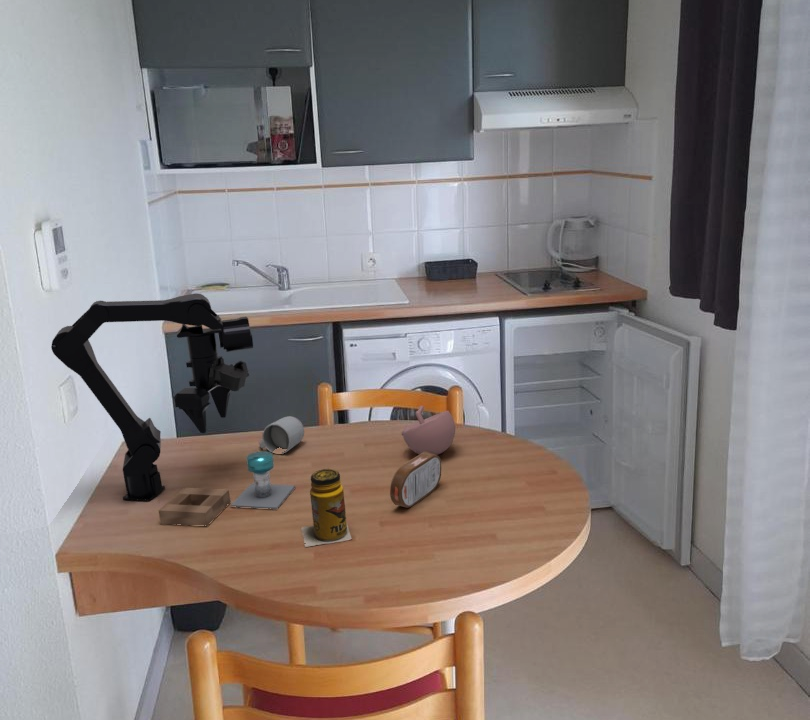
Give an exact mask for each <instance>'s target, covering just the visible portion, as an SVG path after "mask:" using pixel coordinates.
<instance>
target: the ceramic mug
mask: <svg viewBox="0 0 810 720" xmlns="http://www.w3.org/2000/svg"><path fill="white" fill-rule="evenodd" d="M304 436H305V428H304V424H303V423H302V422H301V420H300V419H299V418H297V417H295V416H290V415H288V416H284V417H282V418H280V419H278V420H275V421H273V422H272V423H269V424H268V425H266V426H265V427H264V429H263V432H262V436H261V437H262V440H260V441H259V442H258V445H259V447H260V449H264V448H266V449H267V450H268V452H273V451H274V450H275V449H277V448H279V447H280V448H282V449H287V450H286V451H284V452H282V455H284V453H285V454H286V453H287V452H289V451H290V450H291V449H293V448H294V447H295V446H297V445H298V444H300V442H301V441H302V440H303V438H304Z"/></svg>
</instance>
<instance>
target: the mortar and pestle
mask: <svg viewBox="0 0 810 720" xmlns="http://www.w3.org/2000/svg"><path fill="white" fill-rule="evenodd" d="M423 411H424V405H420V406H419V407H418V410H416V411H415V416H416V418H417V420H418V421H417V422H415V423H411V424H409V425H406V426H405V427H404V428H403V429H402V430H401V435H402V438H403V440H404V443H405V444H406V445H407V447H408V448H409V450H411V451H412V452H413V453H415V454H417V455H419V454H421V453H423V452H429V453H432V454H435V455H437V456H439V455H440V454H442V453H444V452H445V451H446V450H448V448H450V447H451V445H452V443H453V441H454V439H455V434H456V424H455V420H454V417H453V416H452V414H451V413H450V411H449V410H445V411H443V412H439V413H437V414H434V415H432V416H430V417H429V416H428V417H427V418H425V419H424V417H423Z"/></svg>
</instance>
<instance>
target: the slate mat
mask: <svg viewBox="0 0 810 720" xmlns="http://www.w3.org/2000/svg"><path fill="white" fill-rule="evenodd" d="M270 484H271V483H270ZM294 488H295V489H296V485H293V484H271V495H270V496H269V497H266V498H258V497H256V493H255V484H254V483H250V484H249V485H248V486H247V487H246V489H244V490H243V492H241V493H240V494H239V496H238V497H237V498H236V499H235V500H234V501H233V502H231V503H230V507H231V506H236V507H251V508H268V509H270V508H271V509H277V508H278V507H279V506H280V505H281V504H282V502H283V501H284V500H285V499H286V498H287V497H288V496H289V497H290V495H291V494H292V493H293V492H294V490H295V489H294ZM292 491H293V492H292ZM291 492H292V493H291ZM290 493H291V494H290ZM289 494H290V495H289ZM289 497H288V498H289ZM288 498H287V499H288ZM287 499H286V500H287ZM286 500H285V501H286ZM285 501H284V502H285ZM282 505H283V504H282ZM282 505H281V506H282ZM281 506H280V507H281ZM280 507H279V508H280Z"/></svg>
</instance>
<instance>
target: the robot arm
mask: <svg viewBox="0 0 810 720" xmlns="http://www.w3.org/2000/svg"><path fill="white" fill-rule="evenodd" d="M158 321H160V322H161V321H162V322H163V321H164V322H171V323H176V324H178V325H179V324H180V325H181V327H180V328H178V330H177V331H176V338H178V339H180V338H186V343H187V349H188V350H187V351H188V356H189V360H188V361H187V362H185V364H186V368H190V369H191V375H192V376H191V377H192V379H191V380H189V381H188V383H189V387H190V388H186V387H184V388H183V389H181V390H180V391H178V392H177V393H175V395H174V396H173V397H172V398H173V404H174V405H173V406H174V407H175V408H178V409H179V410H182V411H183V412H184V413H185V415H187V417H188V418H189V419H190V421H191V422H192V423H193V425H194V426H195V427H196V428H197V430H198V431H199V432H200V434H205V433H207V413H206V412H207V409H208V407H210V405H211V402H209V401H210V397H211V398H212V400H213V403H214V405H215V408H216V410H217V413H218V414H219V416H220V418H222V419H225V418H226V417H227V413H228V407H229V406H228V405H229V401H230V395H231V392H239V390H240V389H242V388H244V387H245V384H246V380H247V378H248V377H250V373H249V370H248V365H247V363H246V362H245V361H242V360H239V361H238V362H236V363H235V364H234V365H233V364H232V363H231V364H225V361H224V360H225V359H224V358H223V356H219V354H218V347H217V340H216V339H217V338H216V334H217V336H218V342H219V348H220V349H222V348H223V350H225V352H235V351H236V352H237V351H242V350H243V351H244V350H245V351H246V350H251V349H254V342H253V334H252V332H251V328H250V321H249V317H248V316H242V317H241V316H240V317H238V318H231V319H224V320H222V318H221V317H220V315H218V314H217V313H216V312H215V311H214V310H213V309H212V305H211V302H210V301H209V299H208V298H207V297H206V296H205V295H204V294H202V293H190V294H186V295H180V296H176V297H173V298H172V297H171V298H170V299H168V298H167V299H164V300H163V299H161V300H128V301H127V300H125V301H124V300H123V301H118V300H117V301H115V300H114V301H104V300H96V301H94V302H92V304H91V305H90V307H89V308H88V310H86V312H84V313H83V314H82V315H81V316H80V317H79V318H78V319H77V320H76V321H75V322H74V323H73V324H72V325H67V326H66V325H65V326H63V327H62V328H61V329H60V330H59V331H58V332H57V333H56V334H55V336H54V338H53V339H52V342H51V347H50V348H51V351H52V353H53V355H54V356H55V357H56V358H57V359H58V360H59V361H60V362H61V363H63V364H64V365H65V366H66V367H67V368H68V369H70V370H71V371H73V372H74V373H76V374H77V375H79V377H80V378H81V379H82V380H83V382H84V384H86V385H87V387H88V388H89V390H90V391H91V393H92V394H93V395H94V396H95V398H96V399H97V401H98V402H99V403H100V404H101V406H102V407H103V409H104V410H105V411H106V412H107V413H108V415H109V417H110V418H111V419H112V420H113V422H114V424H115V425H116V427H118V428H119V430H120V432H121V435H122V437H123V439H124V443H125V446H126V448H127V451H126V452H125V454H124V459H123V463H122V474H123V480H124V485H125V490H126V494H125V495H124V496H123V497H122V499H123V501H124V500H125V501H142V502H150V501H151V500H153V499H154V498H155V497H157V496H158V495H159V494H160V493H161V492H163V491H164V490H165V489H166V485H163V484H162V479H161V478H162V477H161V472H159V469H158V465H157V464H154V463H155V462H156V461H157V460H158V459H159V458H160V457H161V456H160V454H161V448H162V439H161V430H160V429H158V428H157V427H156V426H155V424H154V422H153V420H152V418H151V417H149V418H147V419H146V420H143V419H142V418H140V417H139V416H138V415H137V414H136V413H135V412H134V410H133V409H132V407H131V406H130V405H129V403H128V402H127V400H126V399H125V398H124V397H123V395H122V394H121V392H120V390H118V388H117V387H116V386H115V384H114V383H113V381H112V380H111V378H110V377H109V376H108V375H107V373H106V372H105V370H104V369H103V367H102V366H101V365H100V363H99V362H98V360H97V358H96V355H95V352H94V350H93V347H92V344H91V343H90V340H89V339H90V338H91V337H92V336H93V335H94V334H95V333H96V332H97V331H98V330H99V329H100V327H101V326H102V325H103V324H104V323H105V324H106V323H120V322H121V323H124V322H125V323H127V322H128V323H131V322H132V323H133V322H158ZM203 326H204V327H206V328H204V327H203ZM191 387H192V388H191ZM193 387H194V388H193Z"/></svg>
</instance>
